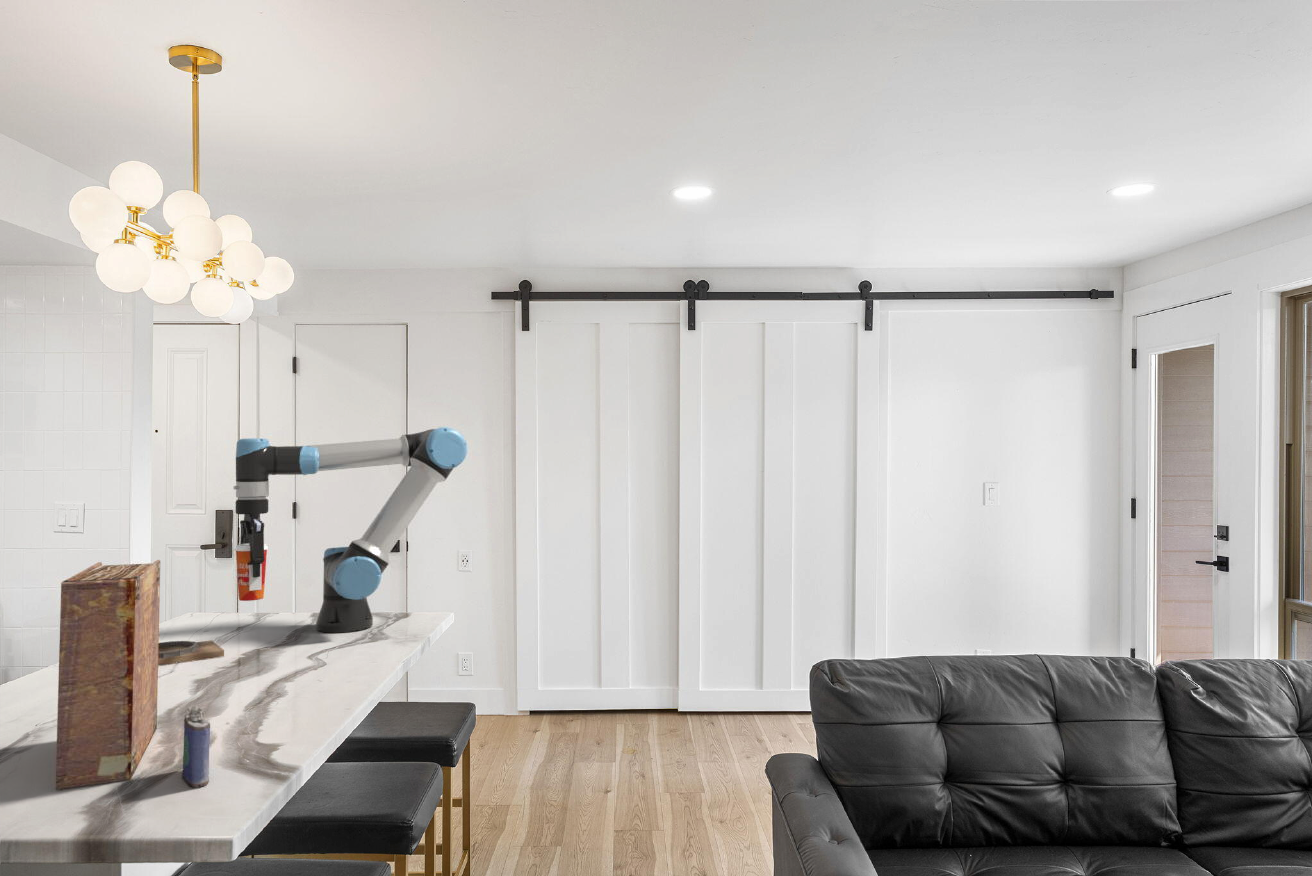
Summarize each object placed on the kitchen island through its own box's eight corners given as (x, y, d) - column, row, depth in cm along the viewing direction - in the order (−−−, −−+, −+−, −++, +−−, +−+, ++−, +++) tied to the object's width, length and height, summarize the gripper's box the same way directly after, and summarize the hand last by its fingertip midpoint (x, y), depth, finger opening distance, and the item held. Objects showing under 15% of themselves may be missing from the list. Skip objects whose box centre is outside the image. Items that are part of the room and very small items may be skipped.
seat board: (211, 646, 200) (211, 635, 200) (223, 656, 190) (224, 645, 190) (107, 659, 186) (107, 648, 186) (114, 671, 175) (115, 659, 176)
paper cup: (227, 600, 197) (227, 545, 197) (251, 595, 204) (251, 542, 204) (252, 602, 195) (252, 546, 195) (275, 596, 202) (275, 542, 202)
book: (95, 735, 135) (99, 561, 136) (157, 727, 139) (161, 559, 140) (54, 791, 112) (60, 582, 113) (131, 780, 116) (135, 578, 117)
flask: (210, 785, 114) (211, 711, 114) (187, 790, 112) (188, 715, 113) (200, 766, 121) (201, 697, 122) (178, 771, 119) (179, 700, 120)
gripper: (227, 497, 205) (226, 585, 204) (245, 500, 190) (244, 594, 190) (258, 496, 210) (257, 582, 209) (278, 499, 195) (278, 591, 194)
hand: (251, 587), depth 199 cm, fingers closed on paper cup, 7 cm apart
